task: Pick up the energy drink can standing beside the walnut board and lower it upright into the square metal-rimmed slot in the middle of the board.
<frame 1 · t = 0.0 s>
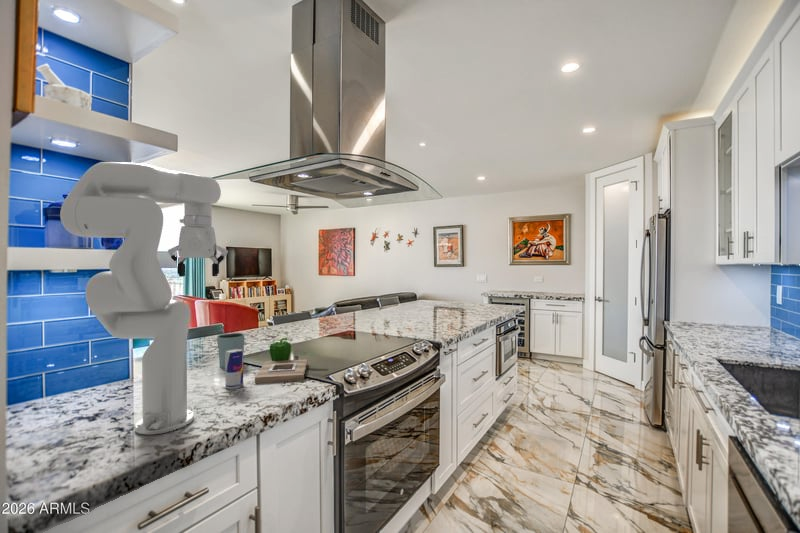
hand: (198, 276, 115), 37 cm above the worktop, tool pointing down, fingers open, 9 cm apart
energy drink: (234, 387, 119), on the worktop
slotted board: (283, 373, 133), on the worktop
bell pepper: (280, 363, 148), on the worktop
grey teal cup: (231, 365, 144), on the worktop
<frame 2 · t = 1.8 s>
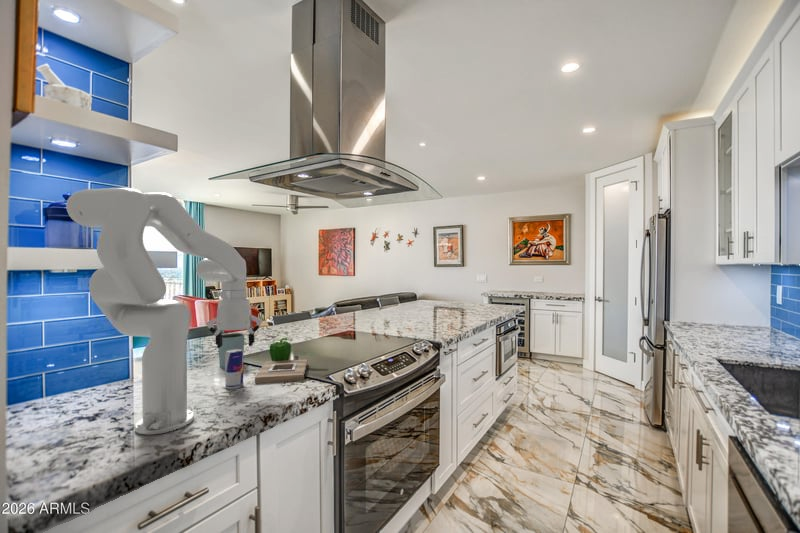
hand: (235, 346, 119), 13 cm above the worktop, tool pointing down, fingers open, 9 cm apart
nothing on the worktop moved.
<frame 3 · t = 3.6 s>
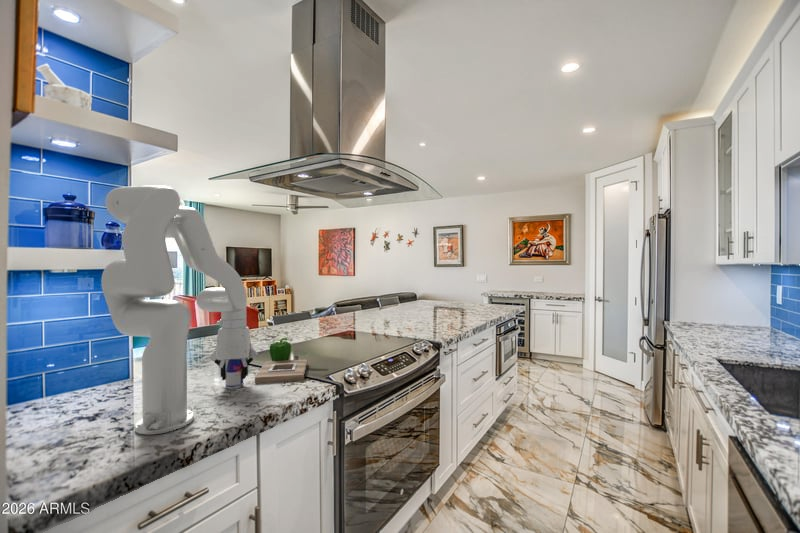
hand: (234, 377, 119), 3 cm above the worktop, tool pointing down, fingers closed on energy drink, 5 cm apart
energy drink: (234, 387, 119), on the worktop, touching gripper
everything else where it was.
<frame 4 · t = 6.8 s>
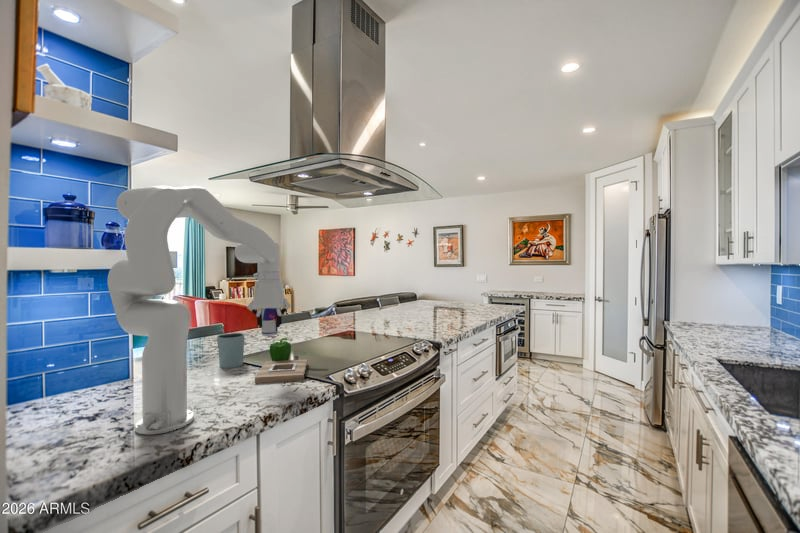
hand: (269, 326, 129), 18 cm above the worktop, tool pointing down, fingers closed on energy drink, 5 cm apart
energy drink: (269, 335, 129), point 15 cm above the worktop, touching gripper
everything else where it was.
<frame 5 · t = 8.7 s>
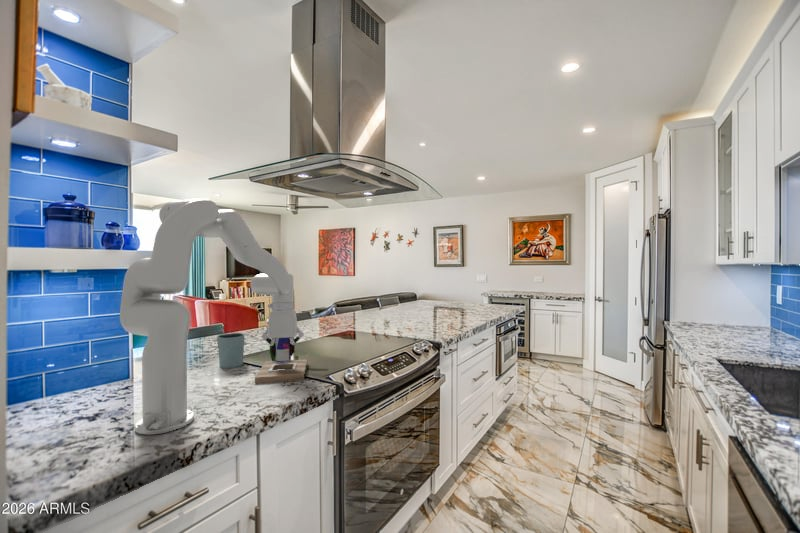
hand: (283, 354, 133), 7 cm above the worktop, tool pointing down, fingers closed on energy drink, 5 cm apart
energy drink: (283, 363, 133), point 4 cm above the worktop, touching gripper
everything else where it was.
when the fingers open (4 cm above the worktop, at t = 10.0 s): energy drink stays where it is, resting in slotted board.
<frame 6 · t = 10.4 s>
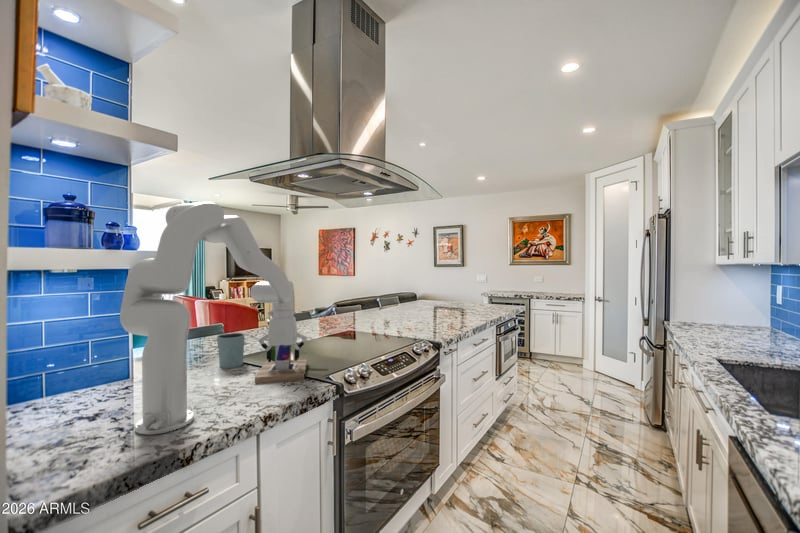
hand: (283, 360, 133), 5 cm above the worktop, tool pointing down, fingers open, 9 cm apart
energy drink: (282, 373, 133), resting in slotted board
everything else where it was.
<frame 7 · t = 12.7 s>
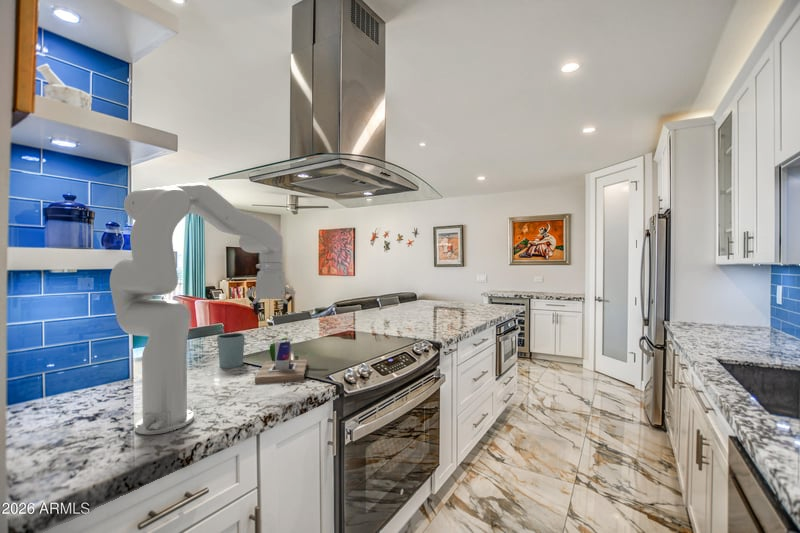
hand: (270, 314, 131), 22 cm above the worktop, tool pointing down, fingers open, 9 cm apart
nothing on the worktop moved.
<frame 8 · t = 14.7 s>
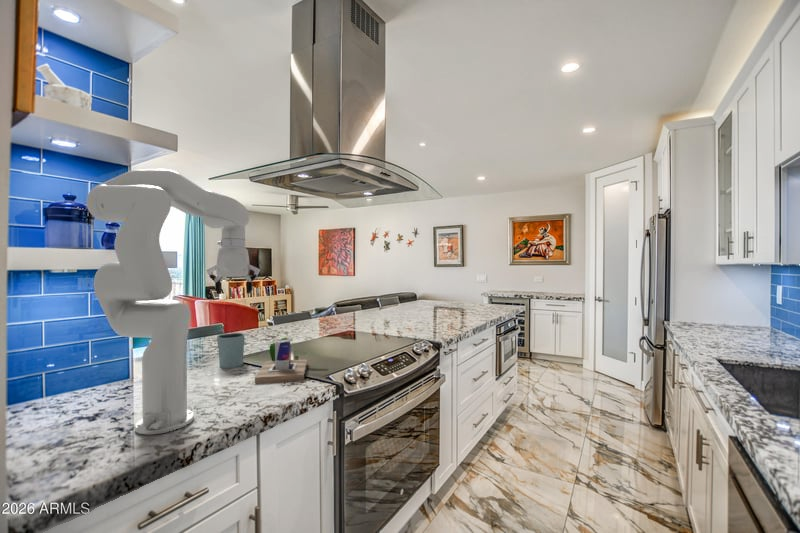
hand: (233, 293, 126), 30 cm above the worktop, tool pointing down, fingers open, 9 cm apart
nothing on the worktop moved.
at the end: energy drink 0.1 cm off-centre on the slotted board, point 0.0 cm above the slotted board's base; energy drink tilted 0°; the gripper is holding nothing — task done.
